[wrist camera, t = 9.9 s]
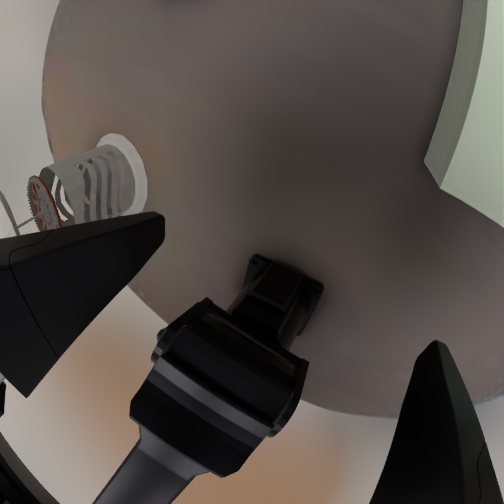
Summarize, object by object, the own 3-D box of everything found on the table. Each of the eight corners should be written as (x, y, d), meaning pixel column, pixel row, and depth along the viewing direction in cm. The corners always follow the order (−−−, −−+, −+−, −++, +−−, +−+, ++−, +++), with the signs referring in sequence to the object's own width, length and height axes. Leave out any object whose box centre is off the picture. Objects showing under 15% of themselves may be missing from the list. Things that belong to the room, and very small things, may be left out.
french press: (141, 130, 22) (-115, 267, 3) (157, 239, 28) (-30, 395, 10) (88, 135, 26) (-99, 235, 7) (104, 224, 32) (-48, 336, 13)
